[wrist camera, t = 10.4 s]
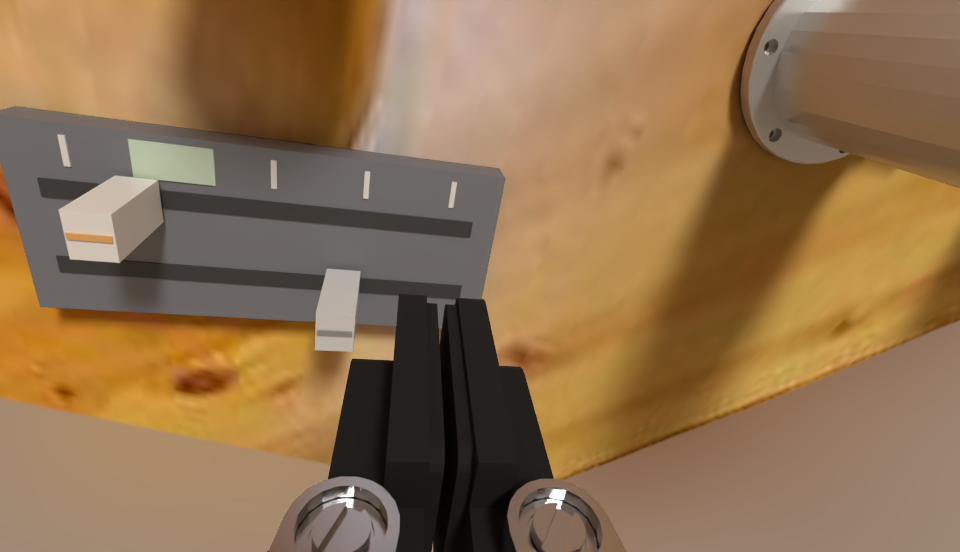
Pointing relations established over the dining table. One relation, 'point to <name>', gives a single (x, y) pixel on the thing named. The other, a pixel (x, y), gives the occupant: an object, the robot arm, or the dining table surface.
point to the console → (248, 220)
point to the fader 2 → (337, 311)
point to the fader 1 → (111, 219)
